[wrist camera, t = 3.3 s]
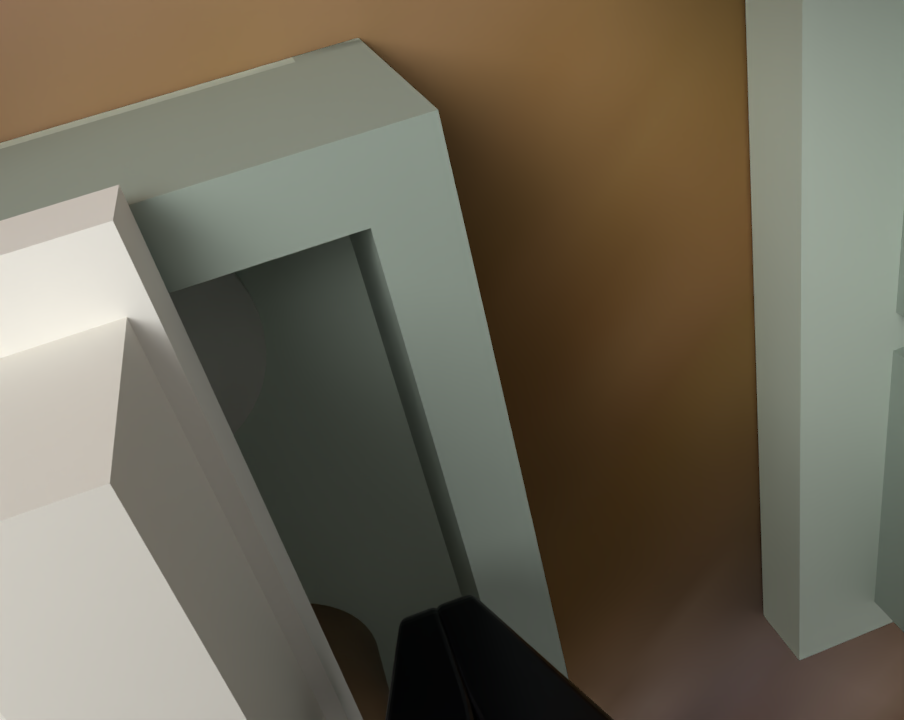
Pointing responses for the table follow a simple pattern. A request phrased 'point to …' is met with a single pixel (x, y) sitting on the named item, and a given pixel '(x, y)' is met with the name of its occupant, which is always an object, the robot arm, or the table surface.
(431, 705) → the robot arm
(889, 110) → the build board
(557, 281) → the table surface
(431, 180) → the box
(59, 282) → the cover
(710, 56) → the table surface
